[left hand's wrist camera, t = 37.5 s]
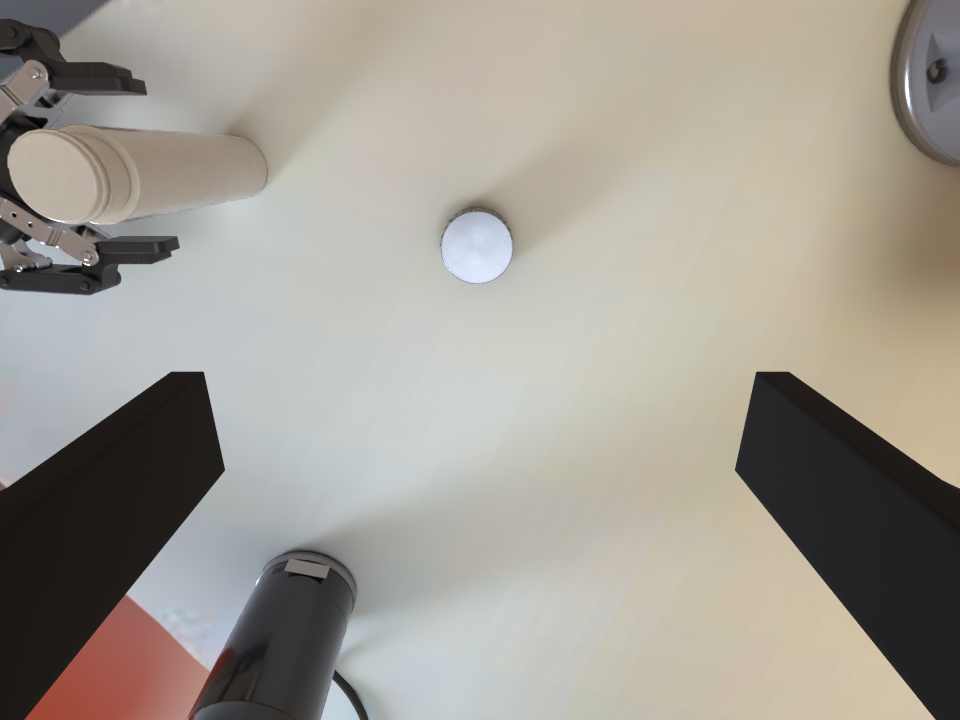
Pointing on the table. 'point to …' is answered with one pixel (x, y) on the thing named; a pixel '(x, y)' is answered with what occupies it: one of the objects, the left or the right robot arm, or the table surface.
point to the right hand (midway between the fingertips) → (155, 169)
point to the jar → (130, 172)
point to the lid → (476, 245)
